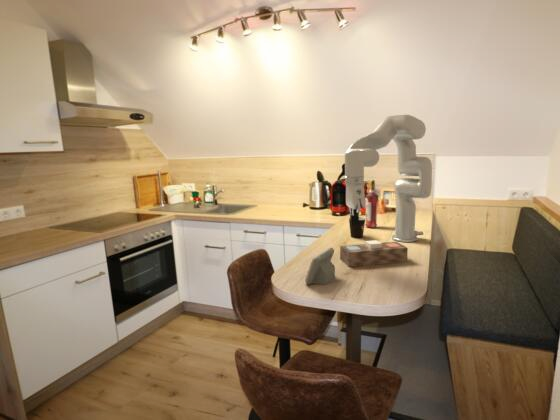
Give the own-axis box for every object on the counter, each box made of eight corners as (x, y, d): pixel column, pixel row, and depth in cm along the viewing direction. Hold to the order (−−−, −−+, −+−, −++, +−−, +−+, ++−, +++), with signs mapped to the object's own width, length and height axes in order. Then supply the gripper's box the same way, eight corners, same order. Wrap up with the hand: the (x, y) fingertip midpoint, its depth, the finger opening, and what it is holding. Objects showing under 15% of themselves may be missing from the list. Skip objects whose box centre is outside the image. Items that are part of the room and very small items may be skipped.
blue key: (356, 254, 155) (356, 246, 155) (361, 258, 151) (361, 249, 150) (345, 255, 155) (345, 246, 154) (349, 259, 150) (349, 250, 149)
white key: (376, 249, 157) (376, 240, 156) (381, 252, 152) (381, 243, 151) (365, 250, 156) (365, 241, 155) (370, 253, 151) (370, 244, 150)
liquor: (362, 226, 218) (363, 180, 213) (374, 225, 219) (375, 179, 214) (368, 229, 211) (368, 181, 206) (379, 228, 212) (380, 180, 207)
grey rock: (323, 270, 143) (323, 245, 142) (343, 275, 137) (343, 248, 136) (297, 282, 132) (297, 254, 130) (317, 288, 126) (317, 259, 124)
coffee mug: (355, 239, 189) (355, 220, 187) (345, 236, 196) (345, 218, 194) (372, 236, 194) (373, 218, 192) (362, 233, 201) (362, 215, 200)
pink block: (395, 251, 158) (395, 243, 158) (401, 255, 154) (401, 246, 153) (384, 252, 158) (384, 243, 157) (390, 256, 153) (390, 247, 152)
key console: (395, 254, 161) (396, 241, 160) (407, 261, 152) (407, 247, 151) (340, 259, 157) (340, 245, 156) (348, 266, 147) (348, 252, 146)
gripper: (370, 182, 140) (370, 227, 144) (356, 178, 155) (356, 219, 158) (352, 183, 139) (352, 229, 143) (339, 179, 153) (339, 221, 157)
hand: (354, 224), depth 150 cm, fingers closed
